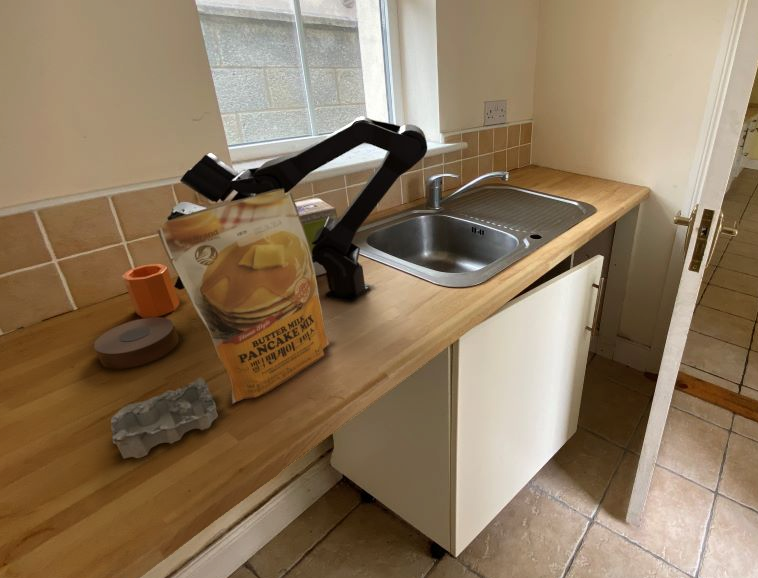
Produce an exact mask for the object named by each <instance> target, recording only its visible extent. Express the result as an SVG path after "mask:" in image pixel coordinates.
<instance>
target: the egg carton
mask: <svg viewBox="0 0 758 578" xmlns="http://www.w3.org/2000/svg"><path fill="white" fill-rule="evenodd" d="M218 417H219V414H218V412H217V404H216V402H215V400H214V398H213V395H212V393H211V392H210V389H209V387H208V385H207V383H206V381H205V380H204V378H203V377H199V378H198V379H196V380H194V381H193V382H191V383H188V384H186V386H184V387H178V388H177V389H176V390H171V389H170V390H169V389H168V390H166V391H165V392H163V393H162V394H159V395H156V396H153V397H151V398H149V399H147V400H144V401H143V400H142V401H139V402H134V403H130V404H127V405H125V406H123V407H121V408H120V409H119V410H118V411H117V412H116V413H115V414H114V415H113V416H112V417H111V419H110V426H111V427H110V428H111V432H112V443H113V444H114V445H116V447H118V450H119V452H120V454H121V456H122V459H123V460H124V459H128V458H135V459H140V458H144V457H145V456H147V455H148V454H149V452H150V451H151V449H153V448H154V447H156V446H157V445H160V444H163V443H165V444H166V443H167V444H173V443H175V442H177V441H179V440H181V439H182V437H183V436H184V434H186V433H187V432H190V431H192V430H195V429H196V430H197V429H199V430H200V431H203V430H207V429H209V428H210V427H211V426H212V423H213V422H214V421H215V420H216V419H218Z"/></svg>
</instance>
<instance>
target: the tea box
mask: <svg viewBox="0 0 758 578" xmlns="http://www.w3.org/2000/svg"><path fill="white" fill-rule="evenodd" d="M295 204H296V206H297V209H298V212H299V216H300V220H301V222H302V225H303V227H304V231H305V234H306V237H307V240H308V243H309V247H310V250H311V256H312V262H313V265H314V268H315V275H316V277H317V276H320V275H324V274H326V270H325V269H324V267H323V266H322V265H320V264H319V263H317V262H316V261H315V260H314V258H313V255H312V250H313V247H314V245H315V244H312V242H313V239H314V237H315V235H316V232H317V230H318V229H320V228H321V227H322V226H323V225H324V224H325V222H326V220H327V218H328V216H329V217H330V218H332V219H333V220H336V219H337V218H338V214H337V209H336V207H333V206H332V205H330V204H329V203H327V202H325V201H324V200H323V199H321V198H320V197H314V198H313V197H312V198H309V199H308V198H307V199H303V200H298V201H295Z"/></svg>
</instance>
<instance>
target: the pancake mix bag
mask: <svg viewBox="0 0 758 578" xmlns="http://www.w3.org/2000/svg"><path fill="white" fill-rule="evenodd" d="M230 201H231V200H230ZM230 201H225V202H222V203H219V204H215V205H213V206H210V207H205V208H206V209H203V210H199V211H196V212H193V213H189V214H186V215H183V216H180V217H177V218H175V219H172V220H166V221H165V222H164V223H163V225H161V227H160V228H159V229H158V230H157V231H156V232H157V234H158V237H159V239H160V242H161V244H162V246H163V248H164V251H165V254H166V255H167V258H168V260H169V262H170V264H171V266H172V268H173V270H174V272H175V273H176V274H177V275H178V276H179V277H180V279H181V281H182V284H183V286H184V290H185V292H186V294H187V296H188V297H187V298H189V301H190V303H191V305H192V307H193V308H194V310H195V312H196V313H197V315H198V317H199V319H200V320H201V321H202V323H203V324H204V326H205V328H206V329H207V330H208V332H209V335H210V337H211V340H212V343H213V346H214V349H215V351H216V354H217V357H218V358H219V360H220V361H221V363H222V364H223V366H224V368H225V370H226V372H227V375H228V377H229V380H230V385H231V404H236V403H237V402H239V401H242V400H244V399H257V398H258V397H260V396H262V395H265V394H267V393H269V392H270V391H272V390H273V389H275V388H276V387H279V386H280V385H281V384H283V383H285V382H286V381H288V380H289V379H291V378H293V377H294V376H296V375H297V374H298V373H300V372H301V371H303V370H305V369H306V368H308V367H309V366H311V365H313V364H315V363H316V362H317V361H319V360H320V359H321V358H323V357H325V353H324V350H325V349H326V348H327V347H328V346H329V345H330V342H329V340H328V338H327V336H326V333H325V323H324V317H323V308H322V306H321V301H320V295H319V288H318V287H319V286H318V282H317V276H316V275H315V268H314V265H313V262H312V256H311V250H310V247H309V243H308V240H307V237H306V234H305V231H304V227H303V225H302V222H301V220H300V216H299V212H298V209H297V206H296V204H295V202H296V201H295V198H294V197H293V193H292V191H289V192H287V193H284V188H283V189H276V190H272V191H268V192H265V193H261V194H258V195H255V196H252V197H249V198H245V199H240V200H235V201H231V202H230Z"/></svg>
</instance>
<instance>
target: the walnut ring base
mask: <svg viewBox="0 0 758 578" xmlns="http://www.w3.org/2000/svg"><path fill="white" fill-rule="evenodd" d="M179 340H180V339H179V335H178V333H177V330H176V327H175V325H174V322H173V321H172V320H171V319H170V318H166V317H161V316H159V317H149V318H139V319H135V320H130V321H128V322H125V323H122V324H119V325H117V326H115V327H112V328H111V329H109V330H107V331H105V332H104V333H103V334H101V335H100V336H99V337H98V338H97V339H96V340H95V342H94V345H93V348H94V351H95V352H96V355H97V357H98V359H99V361H100V363H101V364H102V366H103V367H105V368H107V369H112V370H125V369H132V368H136V367H140V366H144V365H147V364H150V363H152V362H154V361H156V360H157V361H158V360H159V359H161V358H163V357H165V356H166V355H168V354H169V353H170V352H172V351H173V350H174V349H175V348H176V347H177V345H178V343H179Z"/></svg>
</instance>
